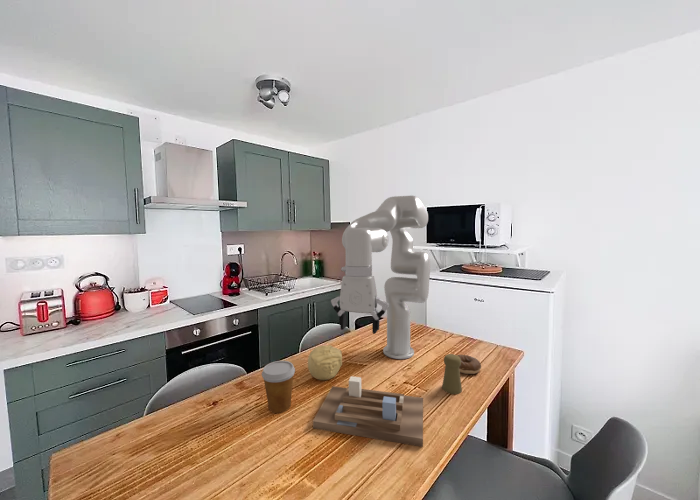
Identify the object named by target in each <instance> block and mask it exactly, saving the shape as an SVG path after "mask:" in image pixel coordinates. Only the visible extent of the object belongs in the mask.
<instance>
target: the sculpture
mask: <svg viewBox="0 0 700 500" xmlns="http://www.w3.org/2000/svg"><path fill="white" fill-rule="evenodd" d="M342 354H343V353H342V350H341V348H338V347H335V346H332V344H329V345H327V344H326V345H319V346H317V347H315V348H314V349H312V350H311V352H310V353H309V355H308V358H307V369H308V371H309V373H310V375H311V377H313V378H315V379H317V380H318V381H326V380H331V379H333V378H334V377H335V376H336V375H337V374H338V373H339V370H340V368H341V366H342V365H343V355H342Z"/></svg>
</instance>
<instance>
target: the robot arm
mask: <svg viewBox="0 0 700 500" xmlns="http://www.w3.org/2000/svg"><path fill="white" fill-rule="evenodd" d="M427 210H428V209H427V208H426V207H425V205H424V203H423V202H422V200H421V199H420V198H419V197H418V196H416V195H398V196H397V195H395V196H390V197H387V198H386V199H384V200H383V202H382V203H381V204H380V206H379V207H378V208H377V209H376V210H375V211H372V212H369V213H367V214H365V215H363V216H360V217H358V218H356V219H355V220H353V221H352V222H351V223H350V224H349V225H348V226H346V227H345V230H344V231H343V233H342V236H341V245H342V246H343V248H344V249H345V265H344V266H342V267H341V269H340V270H341V272H343V273H344V275H343V277H342V278H341V284H340V292H339V293H340V295H337V296H336V297H335V298H332V299H331V300H330V303H331V305H332V306H333V309H334V311H335V312H336V313H337V316H338V319H339V321H338V322H339V323H338V324H339V326H340V330H344V329H345V328H347V326H348V325H347V324H348V322H347V321H348V320H347V319H348V318H347V316H348V315H347V314H346V312H348V313H358V314H370V315H371V316H372V318H373V319H372V325H371V326H372V332H371V333H372V334H373V335H374V334H375V335H376V333H377V332H378V331H379V330H380V319H381V317H382V316H384V315H385V313H386V345H385V346H384V347H383V348H382V349H383V350H382V351H383V354H384V356H386V357H388V358H391V359H395V360H396V359H397V360H406V359H409V358H411V357H413V356H414V355H415V350H414V348H413V347H412V346H411V311H410V310H411V309H410V307H409V306H408V304H407V303H418V304H422V303H423V304H424V303H425V302H427V300H428V298H429V291H430V274H431V259H430V256H429V254H428V253H427V252H424V251H413V248H414V239H413V237H412V236H411V234H410V233H409V231H408V230H407V229H423V228H425V227H426V226H427V225H428V222H429V213H428V211H427ZM388 232H390V236H391V238H392V243H391V244H392V245H391V253H390V254H391V255H390V269H391V272H392V273H395V274H398V275H408V276H409V275H410V276H416V277H406V276H405V277H404V276H401V277H400V276H392V277H389V278H387V279H386V280H385V283H384V286H383V288H384V296H385V301H384V299H381V298H380V297H378V295H377V293H378V292H377V285H376V280H375V276H373V253H382V252H383V251H385V250H386V249H387V247H388V246H389V235H388ZM338 302H339V304H338ZM378 305H379V306H381V310H380V311H379V310H378V309H377V308H378Z"/></svg>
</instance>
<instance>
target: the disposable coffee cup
mask: <svg viewBox="0 0 700 500" xmlns="http://www.w3.org/2000/svg"><path fill="white" fill-rule="evenodd" d="M295 372H296V368H295V367H294V364H293V363H292V362H291V361H288V360H276V361H272V362H270V363H268V364H266V365H265V366H264V367H263V369H262V371H261V377H262V379H263V382H264V383H263V384H264V388H265V393H266V401H267V406H268V410H269V412H271V413H274V414H281V413H285V412H286V411H288V410H289V409H290V408H291V406H292V405H291V404H292V395H293V394H292V393H293V385H294V384H293V383H294V375H295Z"/></svg>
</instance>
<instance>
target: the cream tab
mask: <svg viewBox="0 0 700 500" xmlns="http://www.w3.org/2000/svg"><path fill="white" fill-rule="evenodd" d="M348 387H349V396H354V397H361V389H362V377H360V376H352V375H351V376H350V377H349V379H348Z"/></svg>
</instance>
